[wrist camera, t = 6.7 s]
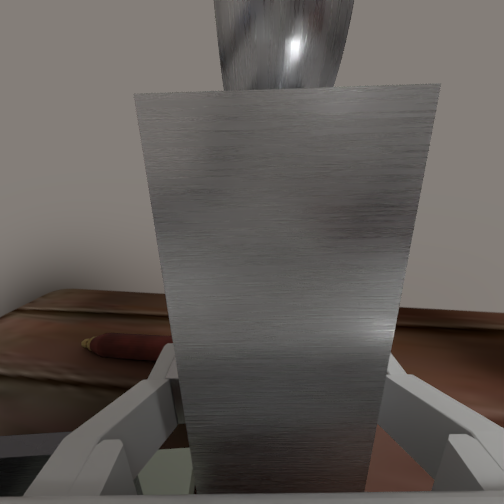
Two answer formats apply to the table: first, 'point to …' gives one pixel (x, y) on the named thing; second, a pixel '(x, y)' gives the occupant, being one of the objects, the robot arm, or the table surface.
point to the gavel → (127, 345)
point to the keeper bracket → (43, 445)
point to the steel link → (284, 247)
